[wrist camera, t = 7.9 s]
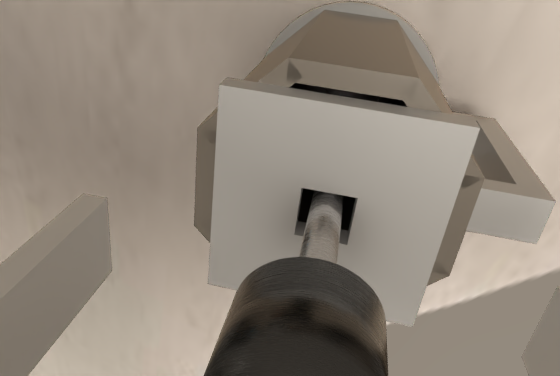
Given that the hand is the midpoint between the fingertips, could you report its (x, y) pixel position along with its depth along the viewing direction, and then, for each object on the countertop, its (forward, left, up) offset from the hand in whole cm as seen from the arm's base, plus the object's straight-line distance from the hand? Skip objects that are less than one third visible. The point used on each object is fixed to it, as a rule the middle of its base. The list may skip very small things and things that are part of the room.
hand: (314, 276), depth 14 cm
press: (+1, 0, -20) cm, 20 cm away
